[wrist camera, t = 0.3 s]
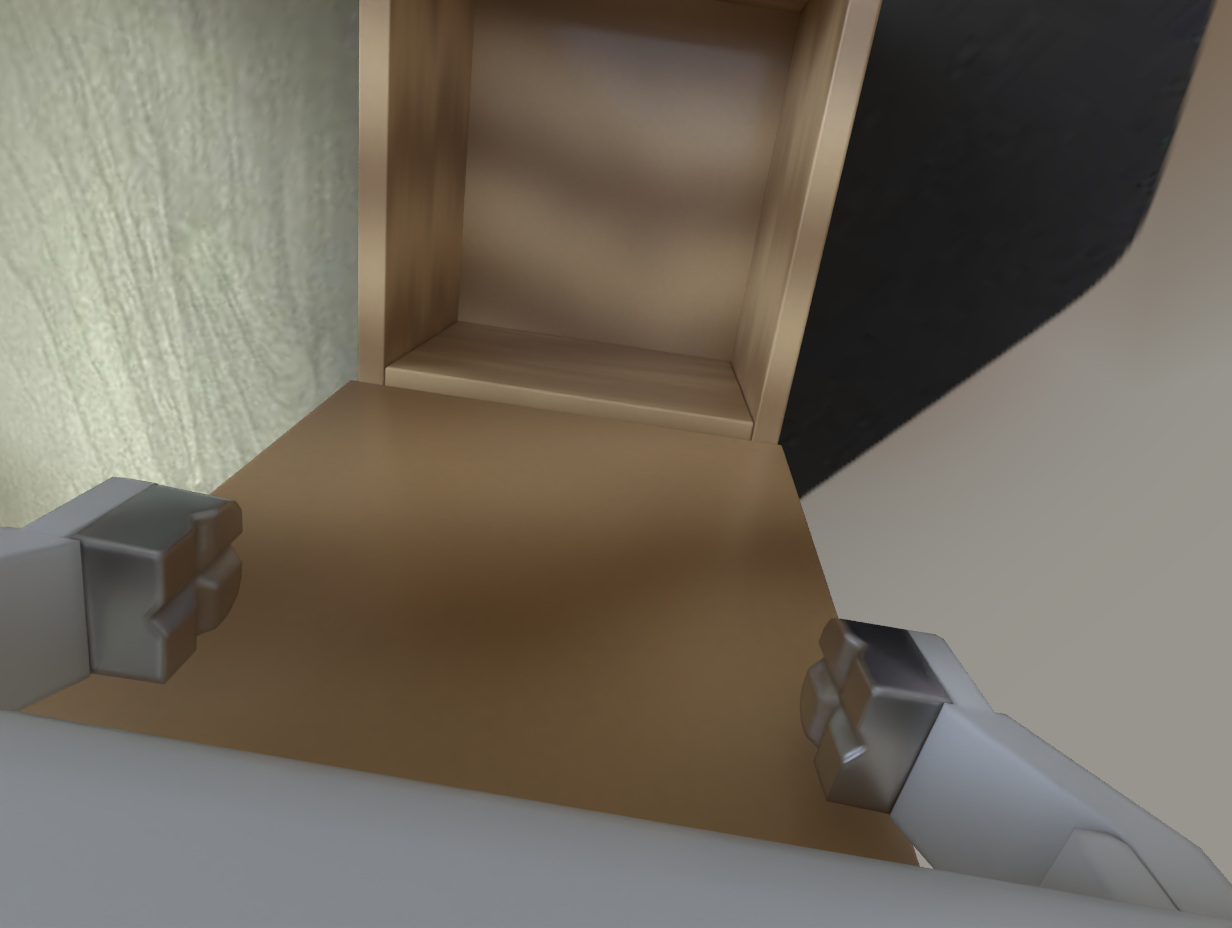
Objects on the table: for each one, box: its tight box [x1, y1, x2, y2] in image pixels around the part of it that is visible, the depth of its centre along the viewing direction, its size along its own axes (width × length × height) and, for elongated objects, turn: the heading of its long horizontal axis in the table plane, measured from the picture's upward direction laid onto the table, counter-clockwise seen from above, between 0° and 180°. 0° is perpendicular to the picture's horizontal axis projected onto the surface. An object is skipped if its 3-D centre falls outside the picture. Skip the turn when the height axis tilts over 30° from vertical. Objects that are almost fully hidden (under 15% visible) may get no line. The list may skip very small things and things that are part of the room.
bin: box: [358, 0, 882, 445], centre depth 23 cm, size 14×13×9 cm
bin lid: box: [17, 380, 920, 867], centre depth 14 cm, size 14×13×1 cm
